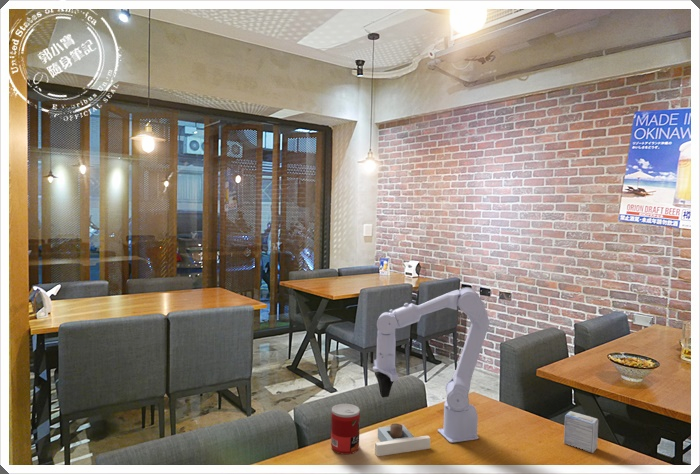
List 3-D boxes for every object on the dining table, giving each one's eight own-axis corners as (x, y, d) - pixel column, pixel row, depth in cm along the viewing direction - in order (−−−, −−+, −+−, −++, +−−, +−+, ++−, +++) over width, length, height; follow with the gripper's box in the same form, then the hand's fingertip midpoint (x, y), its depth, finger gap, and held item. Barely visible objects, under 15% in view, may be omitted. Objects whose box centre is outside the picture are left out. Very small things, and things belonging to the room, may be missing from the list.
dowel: (399, 439, 132) (399, 422, 132) (403, 445, 129) (404, 428, 128) (388, 441, 131) (388, 424, 131) (392, 446, 128) (393, 429, 127)
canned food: (356, 456, 122) (357, 416, 122) (327, 452, 124) (328, 413, 123) (361, 442, 130) (362, 405, 129) (334, 439, 131) (335, 402, 131)
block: (402, 434, 135) (402, 424, 135) (414, 447, 128) (414, 437, 127) (377, 437, 133) (377, 427, 133) (388, 451, 125) (388, 440, 125)
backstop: (427, 445, 129) (427, 435, 129) (430, 448, 127) (430, 438, 127) (374, 453, 124) (375, 442, 124) (376, 456, 122) (377, 445, 122)
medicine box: (597, 448, 130) (599, 418, 129) (593, 454, 126) (594, 423, 126) (568, 438, 135) (569, 410, 135) (563, 443, 132) (564, 414, 131)
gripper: (365, 346, 143) (364, 388, 144) (382, 360, 130) (381, 407, 130) (386, 345, 146) (385, 386, 146) (405, 359, 132) (403, 404, 132)
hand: (384, 396), depth 138 cm, fingers closed
